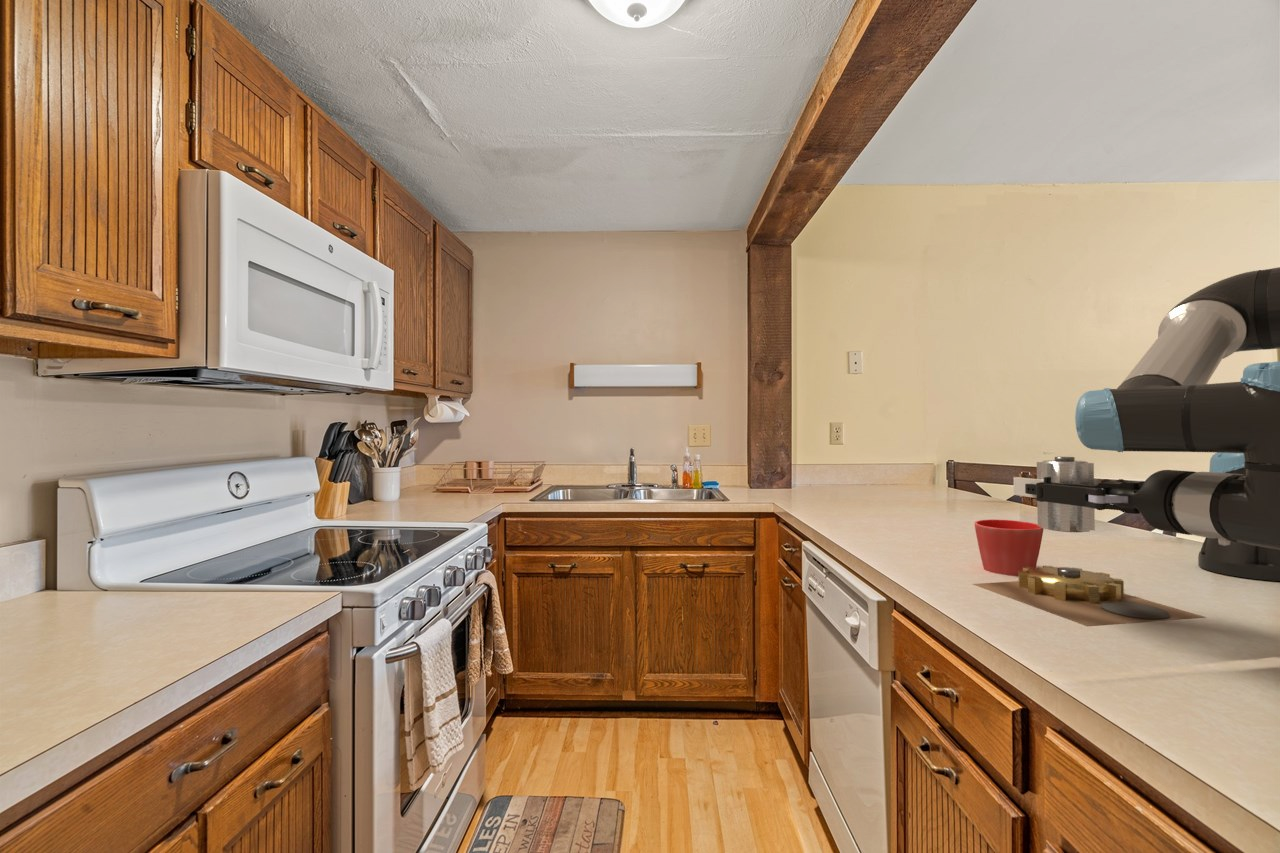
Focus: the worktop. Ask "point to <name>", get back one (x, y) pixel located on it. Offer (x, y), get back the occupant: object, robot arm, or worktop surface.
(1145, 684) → the worktop surface
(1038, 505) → the grey pinion
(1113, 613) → the gear board
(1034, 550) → the flower pot
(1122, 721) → the worktop surface
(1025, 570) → the brass gear
